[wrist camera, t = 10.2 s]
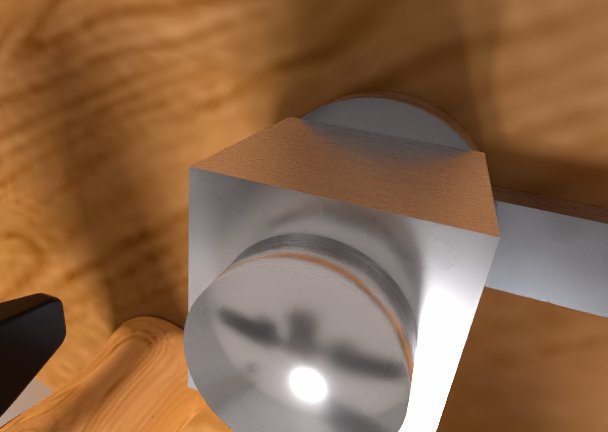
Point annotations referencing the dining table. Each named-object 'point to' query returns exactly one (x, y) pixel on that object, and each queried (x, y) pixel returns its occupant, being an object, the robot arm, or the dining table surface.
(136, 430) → the beer glass
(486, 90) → the dining table surface
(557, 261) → the ratchet
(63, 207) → the dining table surface
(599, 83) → the dining table surface
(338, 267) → the cube with round boss
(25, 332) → the robot arm
